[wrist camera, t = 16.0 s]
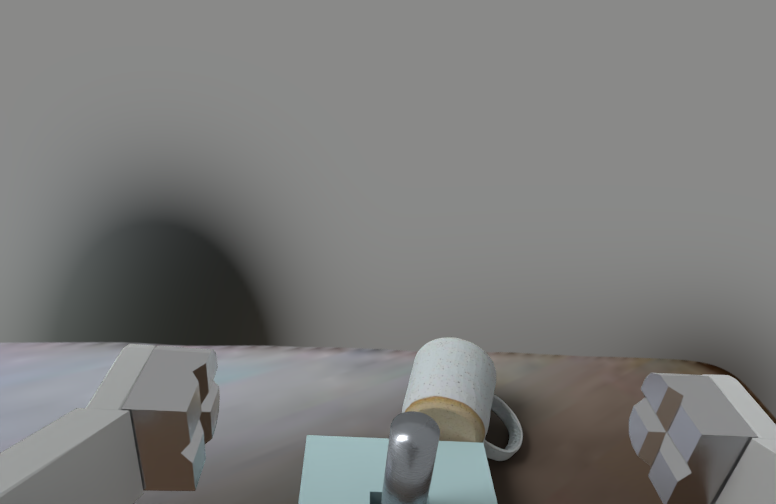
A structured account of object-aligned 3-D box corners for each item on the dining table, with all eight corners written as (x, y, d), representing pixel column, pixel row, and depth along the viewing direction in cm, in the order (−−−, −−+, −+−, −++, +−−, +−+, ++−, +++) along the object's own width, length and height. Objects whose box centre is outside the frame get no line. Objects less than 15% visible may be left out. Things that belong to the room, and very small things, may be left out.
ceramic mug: (392, 455, 47) (404, 386, 43) (409, 390, 54) (420, 326, 50) (518, 486, 45) (541, 418, 41) (518, 415, 52) (538, 352, 49)
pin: (374, 571, 38) (391, 448, 32) (374, 531, 40) (389, 410, 35) (418, 573, 38) (442, 450, 32) (415, 532, 40) (437, 412, 35)
